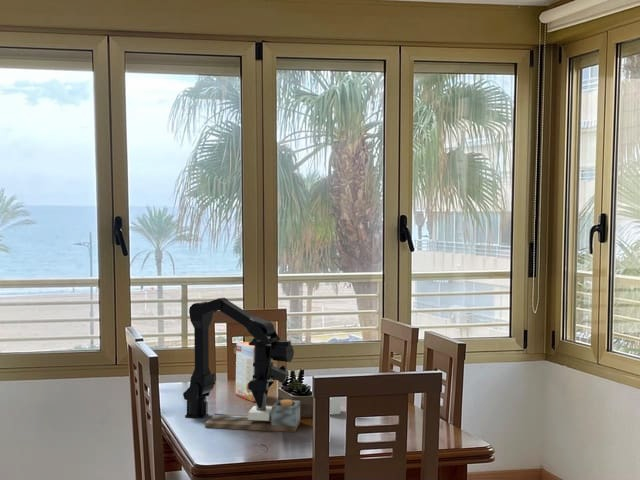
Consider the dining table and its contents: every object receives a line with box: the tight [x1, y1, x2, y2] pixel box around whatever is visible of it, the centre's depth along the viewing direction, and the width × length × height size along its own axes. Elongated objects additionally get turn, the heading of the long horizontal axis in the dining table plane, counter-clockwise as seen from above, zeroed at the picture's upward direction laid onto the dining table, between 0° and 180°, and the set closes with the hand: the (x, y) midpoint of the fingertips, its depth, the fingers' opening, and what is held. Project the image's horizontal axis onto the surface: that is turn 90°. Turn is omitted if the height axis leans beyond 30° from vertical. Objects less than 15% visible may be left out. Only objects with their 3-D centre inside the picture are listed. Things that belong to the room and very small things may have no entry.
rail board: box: [204, 399, 301, 433], centre depth 236 cm, size 30×12×8 cm, turn 84°
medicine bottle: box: [330, 397, 342, 416], centre depth 253 cm, size 7×7×12 cm
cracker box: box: [234, 341, 256, 403], centre depth 274 cm, size 14×6×21 cm, turn 35°
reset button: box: [280, 398, 292, 406], centre depth 235 cm, size 4×4×2 cm
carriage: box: [247, 394, 272, 421], centre depth 236 cm, size 7×9×7 cm
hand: (261, 405), depth 236 cm, fingers open, 6 cm apart
